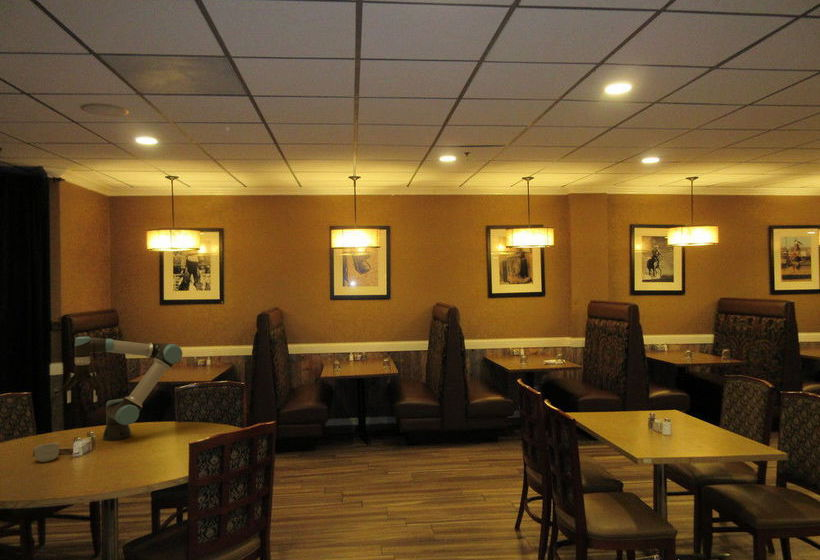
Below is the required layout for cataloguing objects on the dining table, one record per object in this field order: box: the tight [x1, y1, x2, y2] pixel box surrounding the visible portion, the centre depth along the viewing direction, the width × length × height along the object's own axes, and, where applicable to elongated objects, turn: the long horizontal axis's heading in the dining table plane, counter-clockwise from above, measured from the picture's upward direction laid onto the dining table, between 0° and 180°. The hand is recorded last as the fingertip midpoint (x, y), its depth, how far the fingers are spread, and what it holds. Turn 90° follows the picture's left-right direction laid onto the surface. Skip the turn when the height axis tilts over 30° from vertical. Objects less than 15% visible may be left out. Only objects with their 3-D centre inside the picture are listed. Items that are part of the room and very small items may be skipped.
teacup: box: [33, 441, 60, 463], centre depth 284 cm, size 14×11×8 cm
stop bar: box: [32, 446, 74, 457], centre depth 293 cm, size 22×3×3 cm, turn 99°
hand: (82, 402), depth 302 cm, fingers open, 13 cm apart
